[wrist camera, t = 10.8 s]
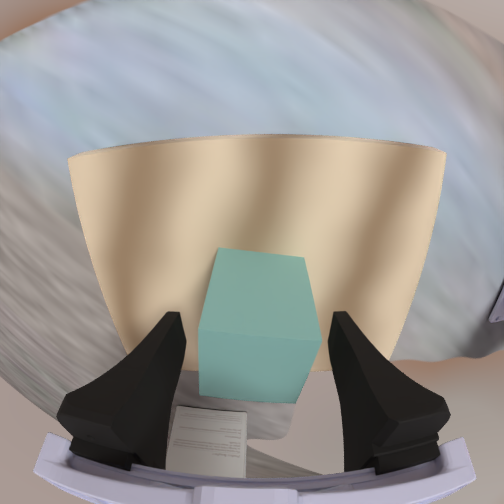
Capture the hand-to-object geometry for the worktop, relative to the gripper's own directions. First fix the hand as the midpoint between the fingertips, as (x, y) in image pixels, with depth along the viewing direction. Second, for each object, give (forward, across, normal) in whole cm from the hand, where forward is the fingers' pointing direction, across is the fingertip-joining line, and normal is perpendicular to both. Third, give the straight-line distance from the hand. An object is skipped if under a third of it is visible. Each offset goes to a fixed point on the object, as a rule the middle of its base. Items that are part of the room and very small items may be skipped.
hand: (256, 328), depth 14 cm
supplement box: (+5, +5, +20) cm, 21 cm away
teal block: (+3, 0, 0) cm, 3 cm away
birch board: (+5, 0, 0) cm, 5 cm away
